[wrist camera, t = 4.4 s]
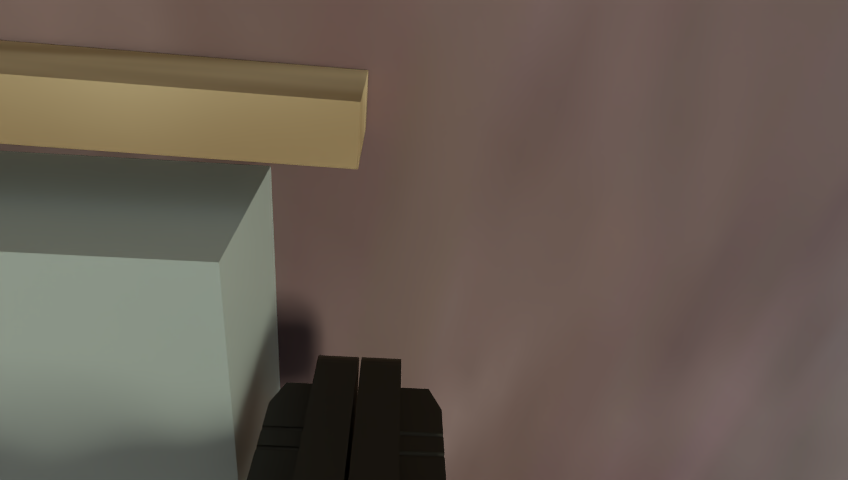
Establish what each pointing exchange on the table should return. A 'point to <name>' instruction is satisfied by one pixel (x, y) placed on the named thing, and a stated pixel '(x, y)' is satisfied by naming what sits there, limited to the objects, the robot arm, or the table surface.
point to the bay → (181, 105)
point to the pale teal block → (134, 317)
